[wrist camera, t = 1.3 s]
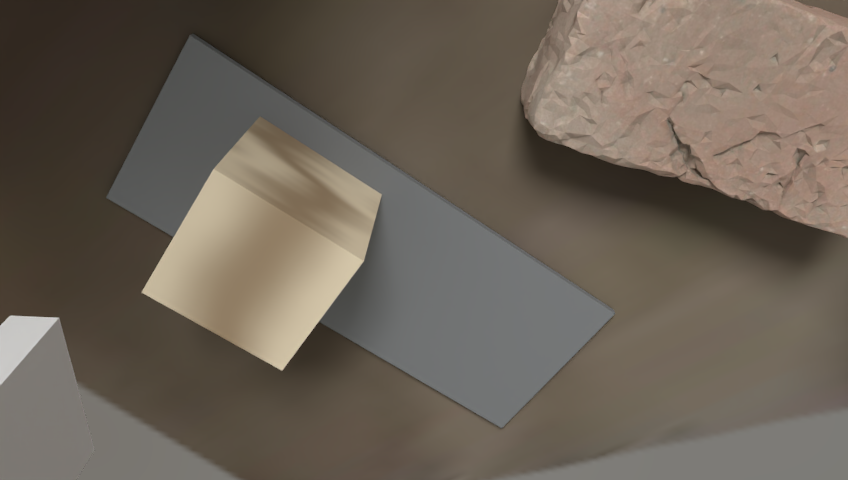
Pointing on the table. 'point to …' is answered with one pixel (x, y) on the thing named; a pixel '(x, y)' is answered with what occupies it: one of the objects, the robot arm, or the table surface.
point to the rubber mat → (376, 245)
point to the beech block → (267, 244)
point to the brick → (704, 97)
